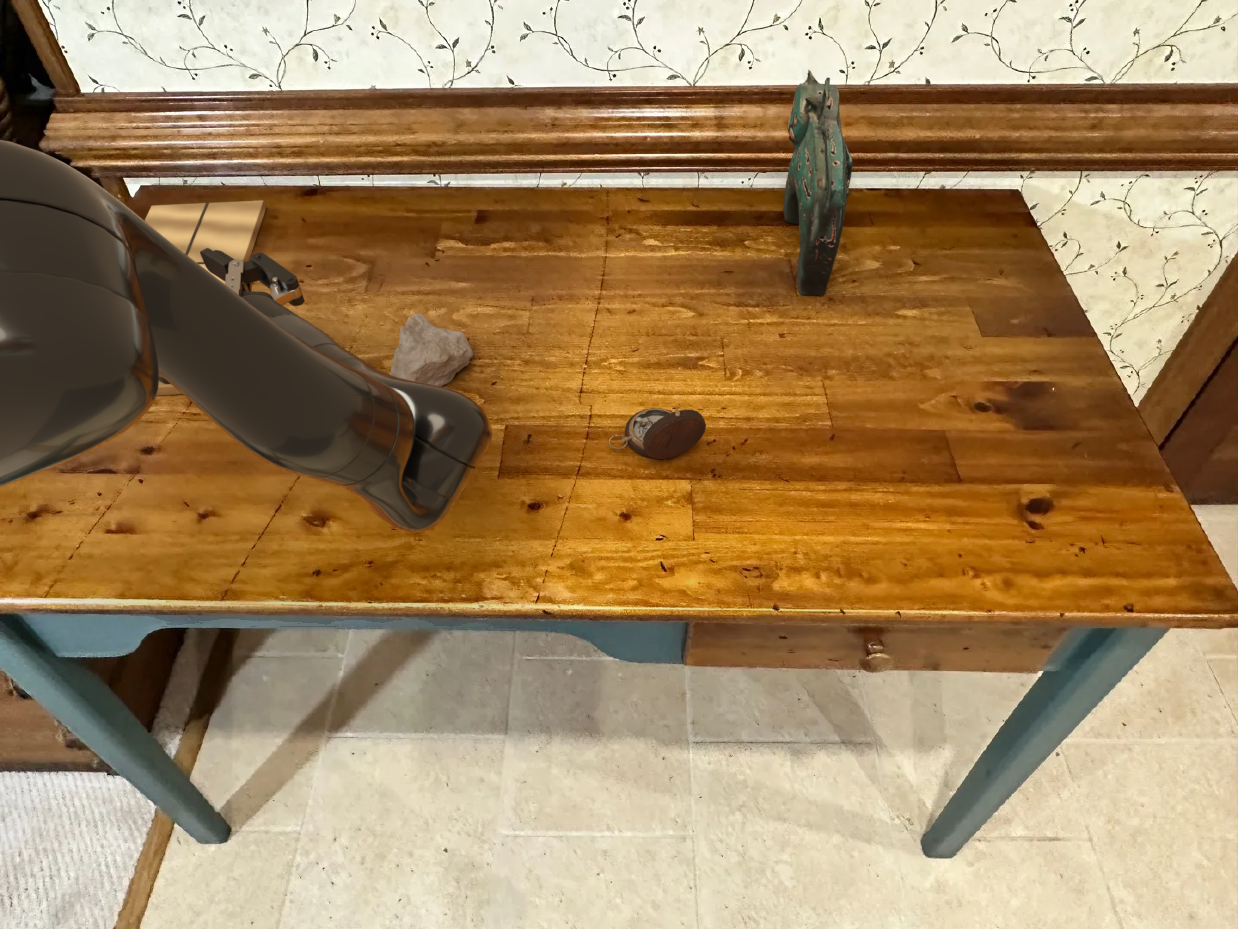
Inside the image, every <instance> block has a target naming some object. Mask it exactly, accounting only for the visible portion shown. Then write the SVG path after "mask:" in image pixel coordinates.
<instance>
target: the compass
mask: <svg viewBox="0 0 1238 929" xmlns="http://www.w3.org/2000/svg"><path fill="white" fill-rule="evenodd" d="M673 408H675V409H674V411H671V410H669V409H665V408H659V407H657V408H656V407H655V408H654V407H651V408H646V409H642V410H639V411H637V412H635V413H634V414H633V415H632V416H631V417H629V419H628V421H627V422H626V424H625V429H624V435H622V434H614V435H612V436H610V438H609V439H608V445H609V446H610V448H611V449H614V450H622V449H624V448H626V447H627V445H628V446H629V447H630V448H631V449H632V450H633V451H634V452H635V453H637V454H638V455H641V456H644V457H648V458H652V459H656V460H666V459H671V458H675V457H677V456H680V455H682V454H684V453H685V452H687V451H689V450H690V449H692V448H693V447H694V446H695V445H697V443H698V442H700V440H701V439H702V437H703V436H704V434H705V432H706V429H707V424H706V420H705V418H704V417H703V415H702V414H701V413H700V412H699V411H698V410H694V409H688V408H687V409H680V410H679V408H678V407H677V406H673ZM616 437H621V438H620V441H621V443H622V444H624V445H623V446H620V447H616V446H614V445H613V444H611V440H612V439H613V438H616Z"/></svg>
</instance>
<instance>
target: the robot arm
mask: <svg viewBox="0 0 1238 929" xmlns="http://www.w3.org/2000/svg"><path fill="white" fill-rule="evenodd" d="M200 254H201V257H202V259H203V261H204V264H205V266H206V268H207V269H208V270H209V271H210V272H211V273H212V274H214V275H215V276H217V277H219V278H220V279H222V280H223V281H225V284H224V283H222V282H221V281H220V280H218V279H217V278H216V277H215V276H213V275H212V274H211V273H209V272H208V271H207V270H206V269H204V268H203V267H202V266H201V265H199V264H198V263H197V262H195V261H194V260H193V259H191V258H190V257H189V256H187V255H186V254H185V253H184V252H182V251H181V250H180V249H178V248H177V247H176V246H175V245H173V244H172V243H171V242H170V241H168V240H167V239H166V238H165V237H164V236H162V235H161V234H160V233H159V232H157V231H156V230H155V229H154V228H152V227H151V226H150V225H149V224H148V223H146V222H145V219H143V218H142V217H140V216H139V215H138V214H137V213H136V212H134V211H133V210H132V209H131V208H129V207H128V206H127V205H125V204H124V203H123V202H122V201H121V200H119V199H118V198H117V197H115V196H114V195H113V194H112V193H110V192H109V191H108V190H106V189H105V188H104V187H102V186H101V185H99V184H98V183H97V182H95V181H94V180H92V179H91V178H89V177H88V176H87V175H85V174H83V173H82V172H80V171H79V170H77V169H75V168H74V167H72V166H70V165H68V164H67V163H65V162H63V161H61V160H59V159H57V158H55V157H53V156H51V155H49V154H46V153H45V152H42V151H39V150H37V149H34V148H30V147H27V146H24V145H22V144H18V143H16V142H12V141H9V140H4V139H0V488H2V487H5V486H7V485H10V484H13V483H16V482H18V481H21V480H23V479H24V480H25V479H26V478H29V477H31V476H34V475H37V474H39V473H42V472H44V471H47V470H49V469H52V468H54V467H57V466H59V465H62V464H64V463H67V462H69V461H72V460H74V459H76V458H79V457H80V456H83V455H85V454H88V453H90V452H92V451H94V450H96V449H97V448H100V447H101V446H103V445H105V444H107V443H109V442H111V441H112V440H114V439H116V438H117V437H119V436H121V435H122V434H124V433H125V432H127V431H128V430H129V429H130V428H132V427H133V426H135V425H136V424H137V423H139V421H140V420H141V419H142V418H143V417H144V416H145V415H146V414H147V412H149V411H150V409H151V408H152V406H153V404H154V402H155V400H156V399H157V398H156V397H157V396H156V395H157V391H158V385H159V381H160V382H162V383H163V384H171V385H173V386H174V387H175V388H176V389H177V390H179V391H180V392H181V393H182V394H181V395H183V396H184V397H185V398H187V399H188V400H189V401H190V402H191V403H192V404H193V405H194V406H195V407H196V408H197V409H199V411H201V412H202V413H203V415H205V416H206V417H207V418H208V419H210V420H211V421H212V422H213V423H214V424H215V425H216V426H218V428H220V430H222V431H223V432H225V434H227V436H229V437H230V438H231V439H233V441H235V442H236V443H237V444H238V445H240V446H241V447H242V448H244V449H245V450H247V451H248V452H250V453H251V454H253V455H255V456H256V457H257V458H259V459H261V460H262V461H264V462H266V463H268V464H270V465H271V466H273V467H275V468H278V469H281V470H283V471H285V472H288V473H292V474H295V475H298V476H301V477H306V478H309V479H313V480H316V481H320V482H324V483H327V484H332V485H335V486H337V487H340V488H342V489H345V490H346V491H348V492H350V493H351V494H353V495H354V496H355V497H356V498H357V499H358V500H359V501H360V502H361V503H362V504H363V505H364V506H365V507H366V508H368V509H369V511H370V512H372V513H373V514H374V515H375V516H377V517H378V518H379V519H381V520H382V521H384V522H385V523H386V524H388V525H390V526H392V527H394V528H395V529H397V530H401V531H404V532H409V533H421V532H426V531H428V530H431V529H434V528H435V527H437V526H439V525H440V524H441V523H442V522H443V521H444V520H445V519H447V517H448V516H449V514H450V513H451V511H452V510H453V508H454V506H455V505H456V503H457V501H458V499H459V498H460V497H461V495H462V493H463V491H464V489H465V488H466V486H467V485H468V483H469V481H470V480H471V478H472V477H473V474H474V473H475V472H476V470H477V467H479V465H480V463H481V462H482V460H483V459H484V457H485V455H486V453H487V452H488V450H489V448H490V445H491V443H492V439H493V429H492V426H491V422H490V420H489V417H488V416H487V414H486V412H485V411H484V409H483V408H482V407H481V405H479V404H478V403H477V402H476V401H475V400H474V399H472V398H471V397H469V396H467V395H465V394H464V393H462V392H458V391H457V390H454V389H450V388H447V387H444V386H442V387H441V386H437V385H432V384H427V383H422V382H417V381H412V380H407V379H403V378H399V377H396V376H393V375H391V373H387V372H385V371H382V370H381V369H379V368H376V367H374V366H373V365H371V364H370V363H369V362H367V361H364V360H363V359H361V357H359V356H357V355H355V354H354V353H352V352H351V351H349V350H347V349H346V348H344V346H342V345H340V344H339V343H338V342H337V341H335V340H334V338H333V337H331V335H329V334H328V333H326V332H325V331H323V330H322V329H320V328H319V327H317V326H315V325H314V324H312V323H311V322H309V321H308V320H306V319H304V318H303V317H301V316H300V315H299V314H297V313H295V312H294V311H292V310H291V309H289V308H287V307H286V306H284V305H286V304H290V305H291V306H292V307H299V306H302V305H303V304H304V303H305V298H304V294H303V292H302V288H301V286H300V283H299V280H298V277H297V275H296V274H294V273H292V272H291V271H290V270H288V269H287V268H285V266H283V265H281V264H280V263H278V262H277V261H275V260H274V259H272V258H271V257H270V256H268V255H267V254H266V253H264V252H260V251H259V252H254V253H253V254H251V256H250V259H249V261H245V262H243V261H242V260H240V259H233V258H232V257H230V256H229V255H227V254H225V253H224V252H222V251H220V250H214V251H212V250H211V249H209V248H206V249H204V250H202V251H200ZM256 282H259V283H261V284H262V285H263V286H265V287H266V288H267V289H269V290H270V291H271V293H268V292H266V291H256V290H255V291H254V290H253V283H256Z"/></svg>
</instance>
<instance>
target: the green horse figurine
mask: <svg viewBox="0 0 1238 929" xmlns="http://www.w3.org/2000/svg"><path fill="white" fill-rule="evenodd" d="M830 83H831V77H826V78H825V80H824V83H820V82H819V81H818V80H817V79H816V77H815V76H814V74H813V73H812V71H811V70H810V69H807V77H806V79H805V81H804V82H800V83H799V84H798V85H797V87H796V89H795V92H794V95H793V96H794V97H793V102H792V108H791V112H790V114H789V116H788V121H787V132H788V140H789V141H790V142H791V143H792V145H793V147H794V150H793V152H792V155H791V158H790V162H789V165H788V170H787V171H788V172H787V177H786V181H785V188H784V198H783V205H782V206H783V208H782V211H783V218H784V222H786V223H788V224H791V225H798V236H799V237H798V238H799V252H798V260H797V269H796V270H797V272H796V280H797V281H796V283H797V286H796V287H797V291H798V293H799V294H800V295H801V296H824V295H825V294H826V291H827V288H828V283H829V281H830V278H831V275H832V273H833V268H834V264H835V260H836V257H837V254H838V251H839V247H840V242H841V238H842V233H843V230H844V229H843V228H844V222H845V215H846V210H847V203H848V202H847V201H848V198H849V196H850V185H851V180H852V171H853V162H854V161H853V158H852V155H851V153H850V150H849V147H848V146H847V144H846V141H845V139H844V135H843V129H842V121H841V120H842V119H841V114H840V113H841V112H840V93H839V88H838V87H837V86H836V85H834V84H830Z"/></svg>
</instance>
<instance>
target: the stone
mask: <svg viewBox="0 0 1238 929" xmlns="http://www.w3.org/2000/svg"><path fill="white" fill-rule="evenodd" d="M398 338H399V339H398V340H399V343H398V345H397V346H396V348H395V350H394V354H393V357H392V364H391V367H390V375H393V376H396V377H399V378H403V379H407V380H412V381H417V382H422V383H427V384H432V385H437V386H441V387H444V385H447V384H449V383H450V382H452V381H453V379H454V378H455V376H456V374H457V373H459V372H460V371H462V370H463V369H464V368H465V367H467V366H468V365H469V364H470V360H471V358H472V357H473V356H474V352H473V349H472V347H471V345H470V343H469V340H468V339H467V337H466V335H465V334H464V333H463V332H462V331H460V330H456V331H455V330H451V329H448V328H439V327H437V326H434V325H433V323H431V322H430V321H429V320H428V319H427V318H426V317H425V315H423V314H421V313H414V314H413V315H412V316H410V317H408V318H407V320H406V323H405V325H403V326H400V329H399V334H398Z"/></svg>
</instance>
